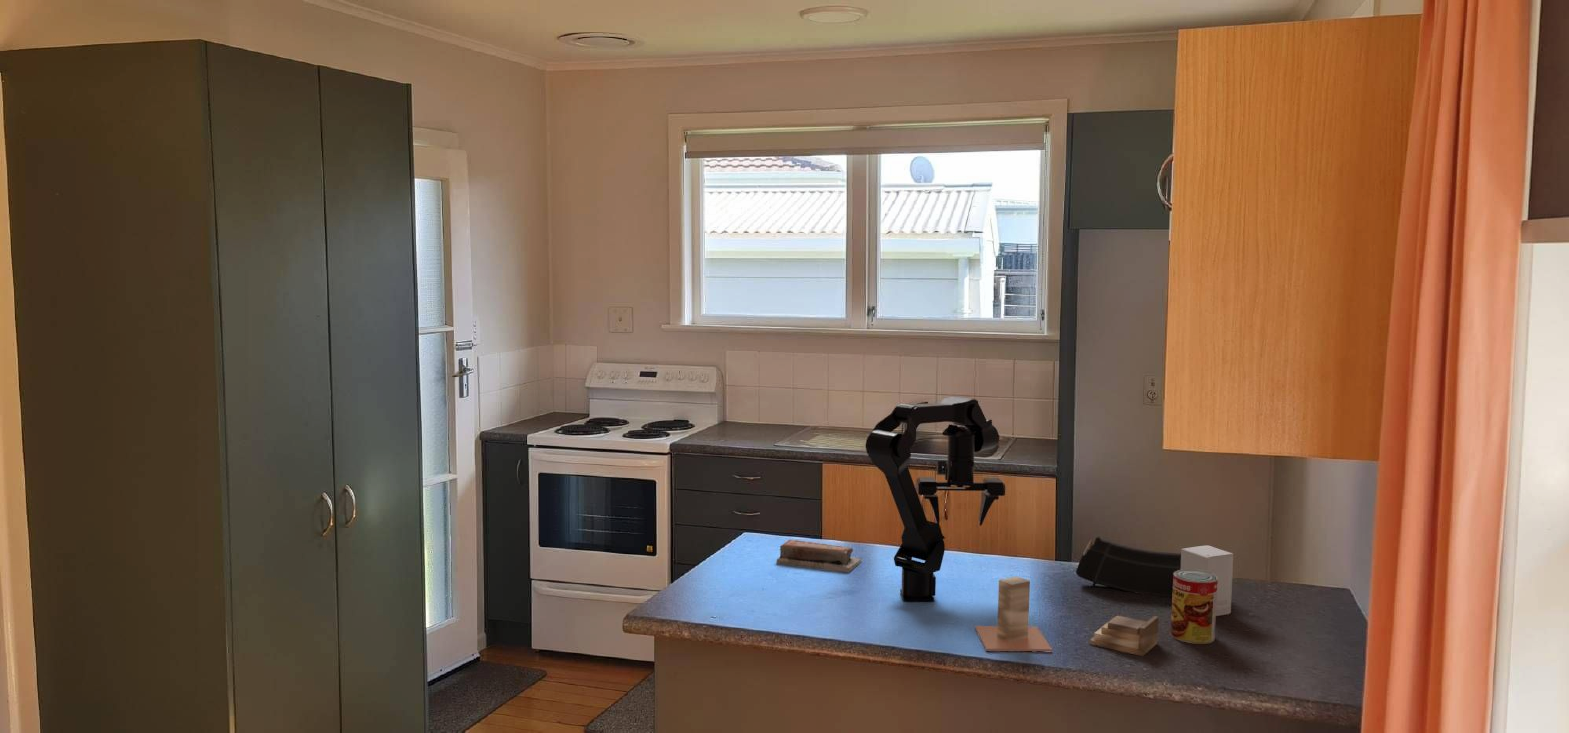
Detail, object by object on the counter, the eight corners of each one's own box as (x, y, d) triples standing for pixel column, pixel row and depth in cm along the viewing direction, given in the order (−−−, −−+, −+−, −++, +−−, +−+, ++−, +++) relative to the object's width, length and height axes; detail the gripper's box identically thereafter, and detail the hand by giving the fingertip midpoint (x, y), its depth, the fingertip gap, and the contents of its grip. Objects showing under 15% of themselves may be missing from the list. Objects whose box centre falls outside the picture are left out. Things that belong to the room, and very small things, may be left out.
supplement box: (1231, 614, 223) (1235, 553, 222) (1203, 618, 220) (1206, 557, 219) (1205, 603, 230) (1208, 544, 228) (1177, 607, 227) (1180, 547, 226)
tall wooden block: (997, 636, 207) (998, 579, 206) (1015, 632, 210) (1016, 576, 208) (1009, 642, 204) (1011, 584, 203) (1027, 638, 207) (1029, 581, 205)
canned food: (1166, 628, 214) (1169, 568, 213) (1207, 630, 214) (1211, 570, 212) (1176, 643, 207) (1179, 580, 205) (1219, 644, 206) (1223, 582, 204)
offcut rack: (1089, 644, 206) (1090, 617, 205) (1105, 632, 212) (1106, 605, 211) (1142, 656, 200) (1144, 628, 199) (1157, 643, 206) (1158, 616, 205)
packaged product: (775, 545, 254) (790, 535, 264) (775, 565, 255) (790, 555, 264) (849, 554, 248) (862, 543, 257) (849, 574, 248) (862, 563, 258)
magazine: (1240, 559, 231) (1100, 505, 240) (1240, 563, 228) (1099, 508, 237) (1210, 631, 235) (1074, 575, 244) (1210, 636, 232) (1072, 580, 241)
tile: (986, 651, 201) (986, 648, 201) (975, 628, 213) (975, 625, 213) (1051, 652, 201) (1052, 649, 201) (1036, 629, 213) (1037, 626, 213)
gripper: (997, 448, 246) (995, 516, 248) (913, 447, 247) (912, 515, 248) (1006, 458, 235) (1004, 529, 237) (919, 457, 236) (917, 528, 237)
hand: (959, 525), depth 240 cm, fingers open, 9 cm apart
